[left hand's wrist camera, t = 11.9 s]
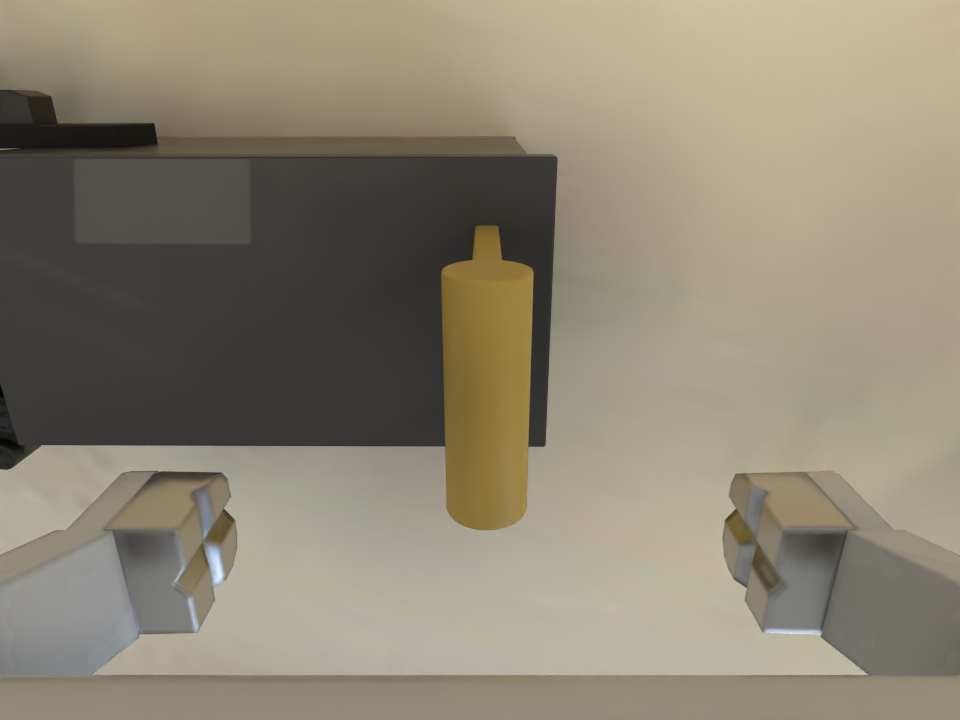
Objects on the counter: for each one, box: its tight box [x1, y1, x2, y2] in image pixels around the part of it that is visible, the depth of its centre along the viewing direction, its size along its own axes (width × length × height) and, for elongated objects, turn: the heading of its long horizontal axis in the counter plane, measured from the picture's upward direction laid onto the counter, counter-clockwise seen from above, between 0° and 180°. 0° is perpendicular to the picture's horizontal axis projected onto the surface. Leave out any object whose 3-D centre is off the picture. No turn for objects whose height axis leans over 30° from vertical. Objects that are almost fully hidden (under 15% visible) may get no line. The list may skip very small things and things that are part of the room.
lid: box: [0, 154, 557, 530], centre depth 17 cm, size 18×10×8 cm, turn 90°
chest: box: [0, 137, 528, 155], centre depth 26 cm, size 18×10×11 cm, turn 90°
